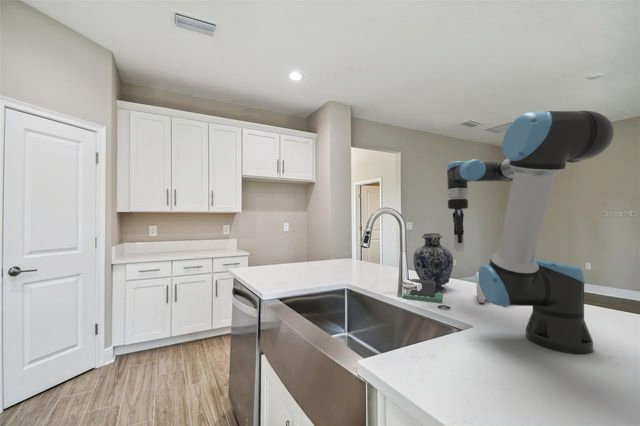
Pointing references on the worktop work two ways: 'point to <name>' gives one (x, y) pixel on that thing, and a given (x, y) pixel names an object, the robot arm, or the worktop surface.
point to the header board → (424, 297)
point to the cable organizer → (479, 291)
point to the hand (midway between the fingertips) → (458, 250)
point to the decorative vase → (433, 261)
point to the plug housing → (425, 288)
